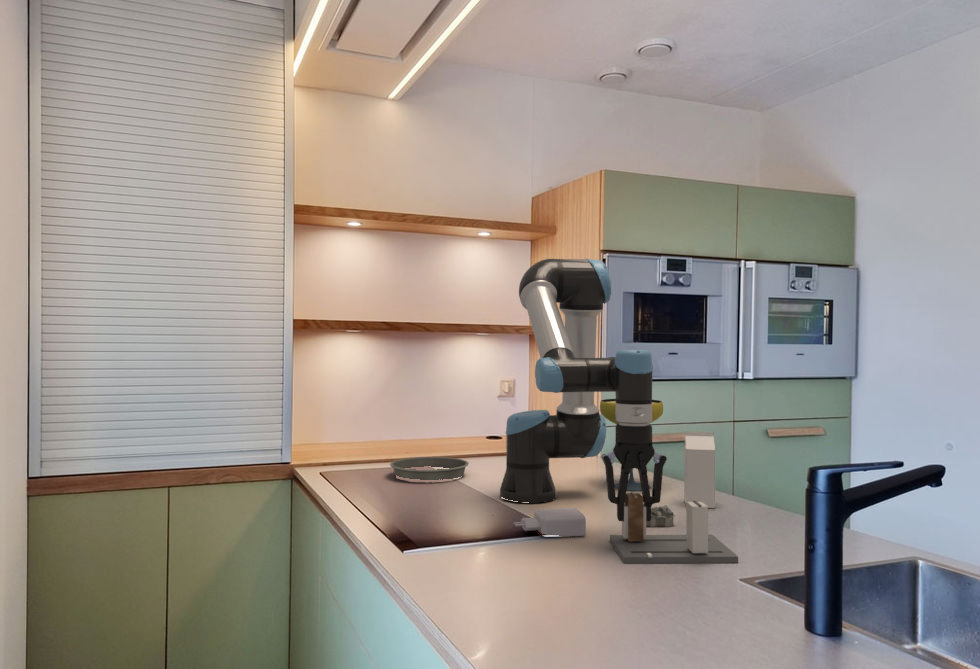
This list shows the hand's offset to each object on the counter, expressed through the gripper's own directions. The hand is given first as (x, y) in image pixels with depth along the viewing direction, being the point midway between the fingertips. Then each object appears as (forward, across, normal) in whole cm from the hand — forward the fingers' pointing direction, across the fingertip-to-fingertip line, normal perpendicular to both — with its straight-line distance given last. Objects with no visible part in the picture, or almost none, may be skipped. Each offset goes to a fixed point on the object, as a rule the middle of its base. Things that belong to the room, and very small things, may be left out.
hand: (634, 536), depth 145 cm
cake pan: (+3, -48, +74) cm, 89 cm away
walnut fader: (0, 0, 0) cm, 0 cm away
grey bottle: (+3, -17, +10) cm, 20 cm away
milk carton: (+2, +25, +36) cm, 43 cm away
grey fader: (0, +11, -8) cm, 13 cm away
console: (+2, +7, -4) cm, 8 cm away
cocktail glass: (+2, +12, +58) cm, 59 cm away
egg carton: (+3, +8, +18) cm, 20 cm away
